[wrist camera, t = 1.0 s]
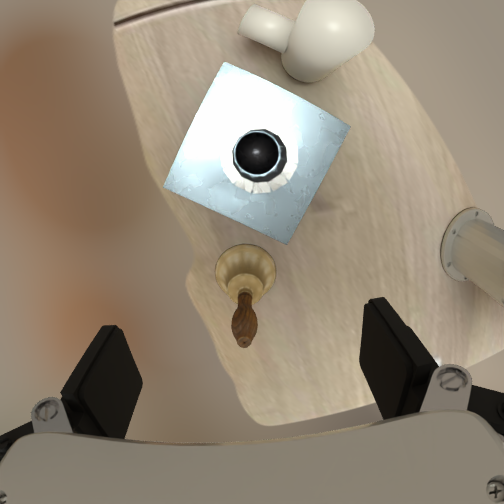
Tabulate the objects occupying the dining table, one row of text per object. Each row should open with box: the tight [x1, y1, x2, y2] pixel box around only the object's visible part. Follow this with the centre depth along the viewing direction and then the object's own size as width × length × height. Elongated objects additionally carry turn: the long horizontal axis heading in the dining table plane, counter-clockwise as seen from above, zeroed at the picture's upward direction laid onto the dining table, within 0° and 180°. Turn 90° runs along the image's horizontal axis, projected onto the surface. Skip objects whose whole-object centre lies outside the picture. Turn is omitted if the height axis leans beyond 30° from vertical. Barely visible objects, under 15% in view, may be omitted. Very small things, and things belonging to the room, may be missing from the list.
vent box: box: [163, 62, 351, 245], centre depth 32 cm, size 16×16×10 cm
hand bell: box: [215, 244, 276, 348], centre depth 35 cm, size 8×8×16 cm
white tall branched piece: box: [238, 0, 375, 83], centre depth 25 cm, size 11×6×16 cm, turn 64°
